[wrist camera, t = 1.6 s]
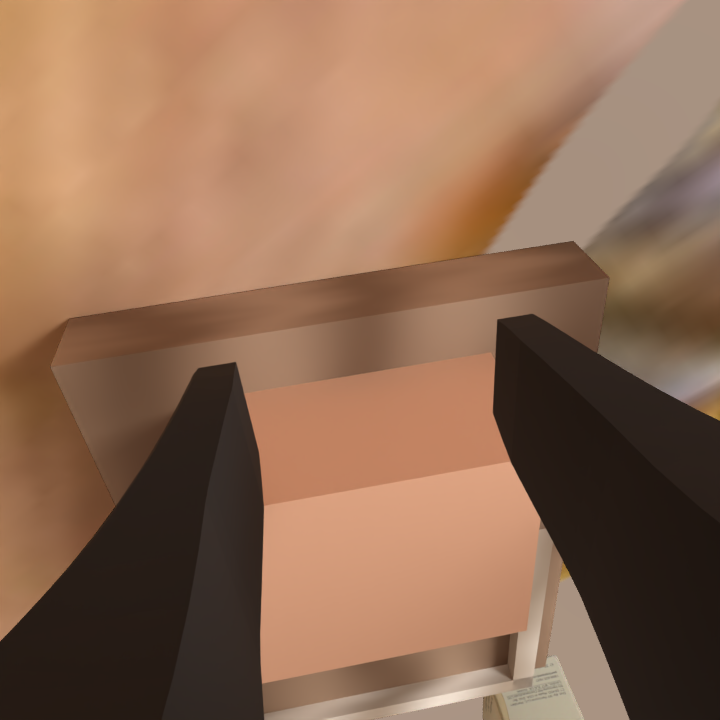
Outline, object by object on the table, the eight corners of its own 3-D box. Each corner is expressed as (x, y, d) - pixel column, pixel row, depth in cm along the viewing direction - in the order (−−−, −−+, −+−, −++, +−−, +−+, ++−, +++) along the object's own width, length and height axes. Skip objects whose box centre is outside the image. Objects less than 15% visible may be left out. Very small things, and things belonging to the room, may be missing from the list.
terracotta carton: (491, 352, 20) (548, 454, 16) (483, 521, 24) (526, 630, 21) (196, 401, 19) (186, 519, 15) (247, 566, 24) (250, 686, 20)
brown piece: (573, 241, 21) (622, 291, 18) (526, 621, 34) (551, 682, 31) (69, 318, 19) (43, 384, 17) (223, 681, 33) (222, 750, 30)
